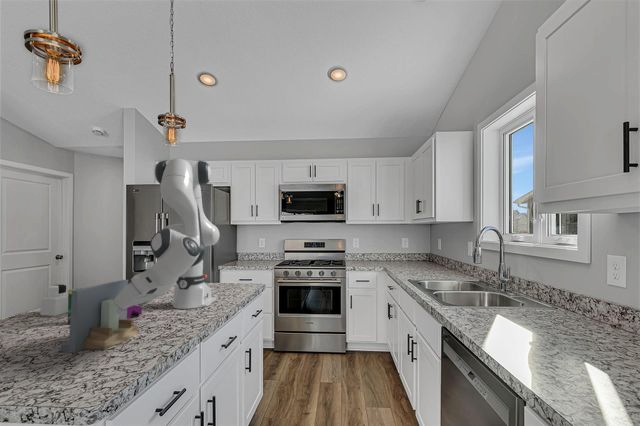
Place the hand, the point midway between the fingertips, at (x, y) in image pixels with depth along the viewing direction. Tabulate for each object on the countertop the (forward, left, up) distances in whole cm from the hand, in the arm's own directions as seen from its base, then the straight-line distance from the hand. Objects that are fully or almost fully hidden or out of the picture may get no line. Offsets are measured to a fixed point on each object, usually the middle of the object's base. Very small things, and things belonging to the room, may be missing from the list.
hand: (130, 308), depth 99 cm
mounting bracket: (-21, -21, -11) cm, 31 cm away
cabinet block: (0, -8, -8) cm, 11 cm away
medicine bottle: (-24, -55, -11) cm, 61 cm away
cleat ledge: (0, -6, -11) cm, 12 cm away
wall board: (0, -12, -11) cm, 16 cm away
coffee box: (-15, -34, -11) cm, 39 cm away
